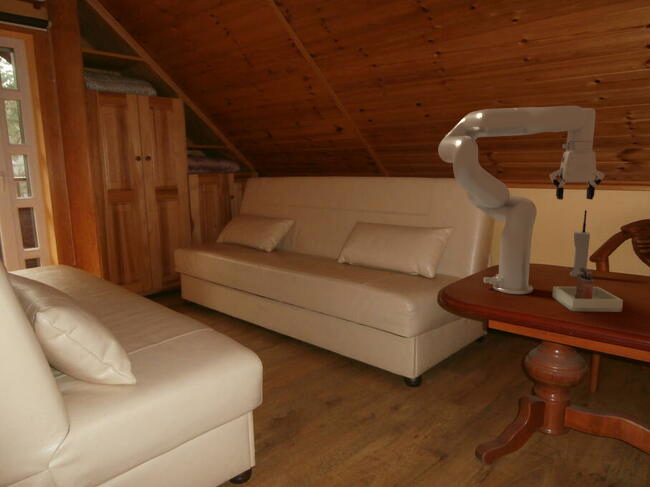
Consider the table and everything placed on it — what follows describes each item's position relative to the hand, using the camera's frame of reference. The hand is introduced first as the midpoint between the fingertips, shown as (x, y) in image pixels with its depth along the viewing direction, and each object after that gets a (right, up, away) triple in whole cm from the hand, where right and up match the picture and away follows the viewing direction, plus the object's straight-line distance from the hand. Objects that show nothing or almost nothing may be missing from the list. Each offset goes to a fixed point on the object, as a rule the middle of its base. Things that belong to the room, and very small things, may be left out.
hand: (574, 199), depth 156 cm
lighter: (-5, -33, -14) cm, 36 cm away
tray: (-4, -34, -14) cm, 36 cm away
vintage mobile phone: (+11, -27, +19) cm, 35 cm away
